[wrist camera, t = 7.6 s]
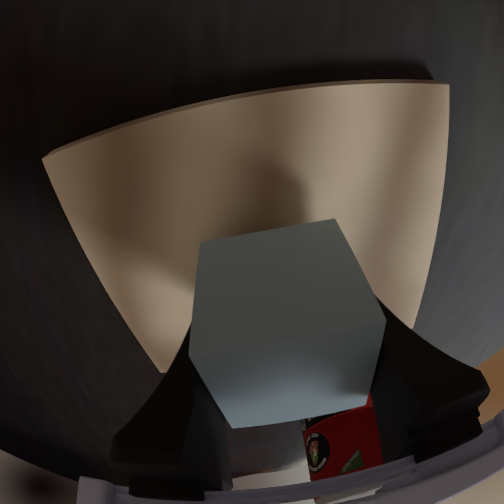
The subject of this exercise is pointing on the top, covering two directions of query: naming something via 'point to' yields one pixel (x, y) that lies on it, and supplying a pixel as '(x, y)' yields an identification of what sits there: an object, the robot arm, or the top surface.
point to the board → (258, 190)
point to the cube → (284, 324)
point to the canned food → (343, 448)
